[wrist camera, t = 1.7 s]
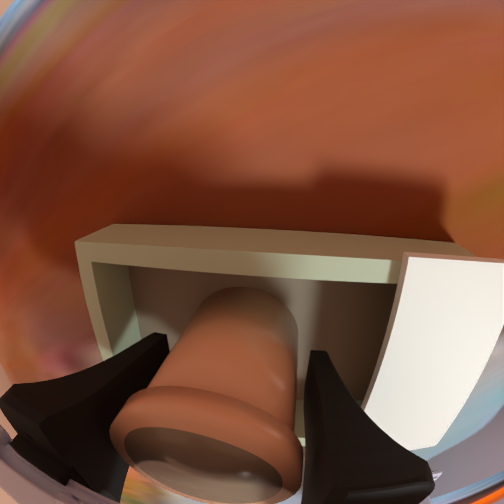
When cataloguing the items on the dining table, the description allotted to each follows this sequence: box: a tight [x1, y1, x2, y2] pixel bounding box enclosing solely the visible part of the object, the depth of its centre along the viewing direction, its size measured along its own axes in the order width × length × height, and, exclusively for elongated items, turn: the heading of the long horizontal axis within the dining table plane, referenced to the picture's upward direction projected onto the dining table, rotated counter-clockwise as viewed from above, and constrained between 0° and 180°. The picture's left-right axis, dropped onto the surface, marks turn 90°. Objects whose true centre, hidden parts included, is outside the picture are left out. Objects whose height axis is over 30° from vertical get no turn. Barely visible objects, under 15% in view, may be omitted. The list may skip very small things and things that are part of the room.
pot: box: [109, 287, 303, 504], centre depth 10 cm, size 6×6×8 cm
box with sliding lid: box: [74, 224, 504, 450], centre depth 11 cm, size 11×18×4 cm, turn 89°
